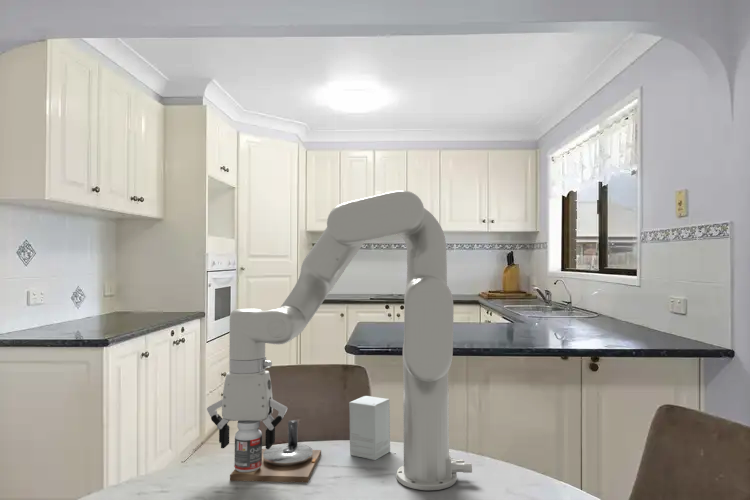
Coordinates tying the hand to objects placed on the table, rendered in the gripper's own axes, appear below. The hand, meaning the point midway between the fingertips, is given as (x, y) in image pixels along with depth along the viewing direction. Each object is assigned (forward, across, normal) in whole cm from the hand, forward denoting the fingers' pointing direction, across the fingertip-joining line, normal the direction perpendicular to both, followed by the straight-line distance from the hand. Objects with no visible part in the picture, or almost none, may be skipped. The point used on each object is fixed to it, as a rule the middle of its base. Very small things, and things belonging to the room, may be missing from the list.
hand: (247, 446), depth 108 cm
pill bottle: (+5, 0, 0) cm, 5 cm away
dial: (+4, -7, -7) cm, 11 cm away
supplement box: (+6, -25, -15) cm, 30 cm away
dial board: (+6, -6, -5) cm, 10 cm away
